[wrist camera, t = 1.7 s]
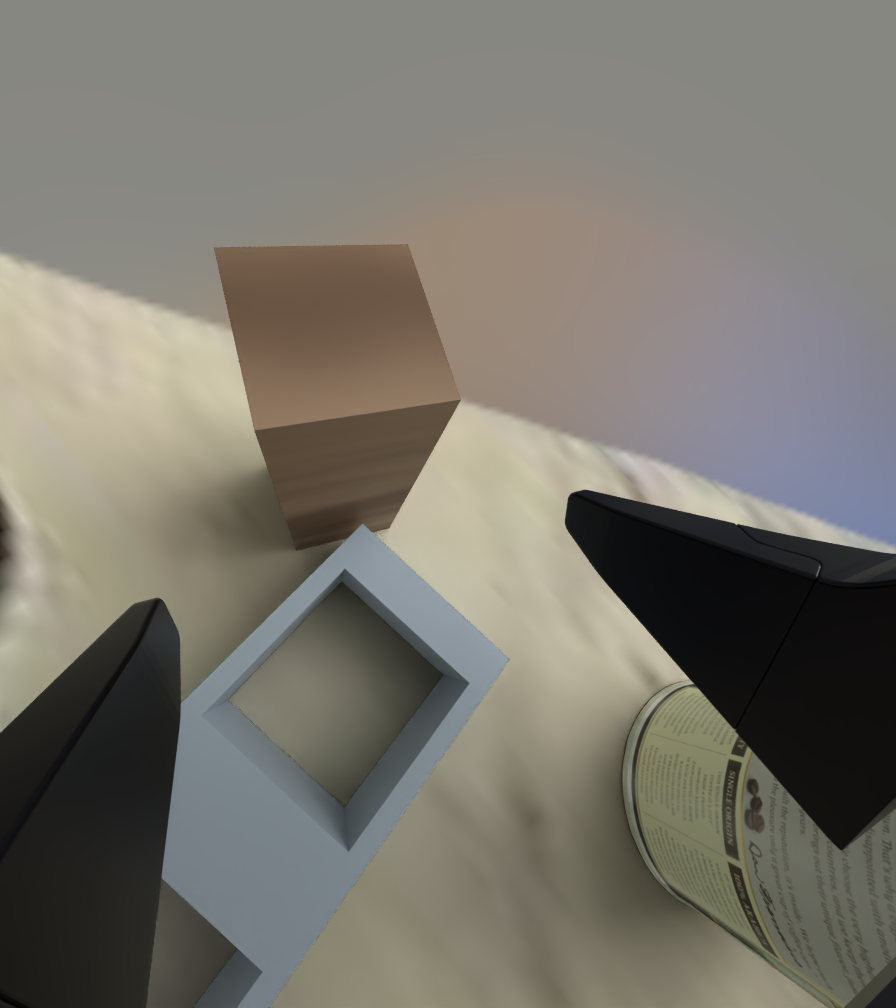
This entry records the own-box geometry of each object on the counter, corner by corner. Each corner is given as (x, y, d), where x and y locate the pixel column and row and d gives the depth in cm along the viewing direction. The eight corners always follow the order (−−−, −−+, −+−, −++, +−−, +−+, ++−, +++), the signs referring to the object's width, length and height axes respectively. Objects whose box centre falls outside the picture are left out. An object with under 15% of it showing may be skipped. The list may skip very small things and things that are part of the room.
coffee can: (741, 657, 25) (1202, 679, 12) (816, 862, 22) (1505, 1178, 9) (592, 706, 21) (997, 811, 9) (659, 952, 19) (1376, 1627, 6)
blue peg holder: (356, 544, 21) (362, 523, 17) (477, 655, 21) (510, 658, 17) (-191, 1095, 12) (-416, 1294, 8) (15, 1288, 12) (-122, 1571, 8)
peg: (389, 527, 21) (460, 399, 10) (296, 550, 20) (254, 430, 8) (366, 447, 22) (408, 244, 11) (276, 463, 21) (213, 247, 9)
